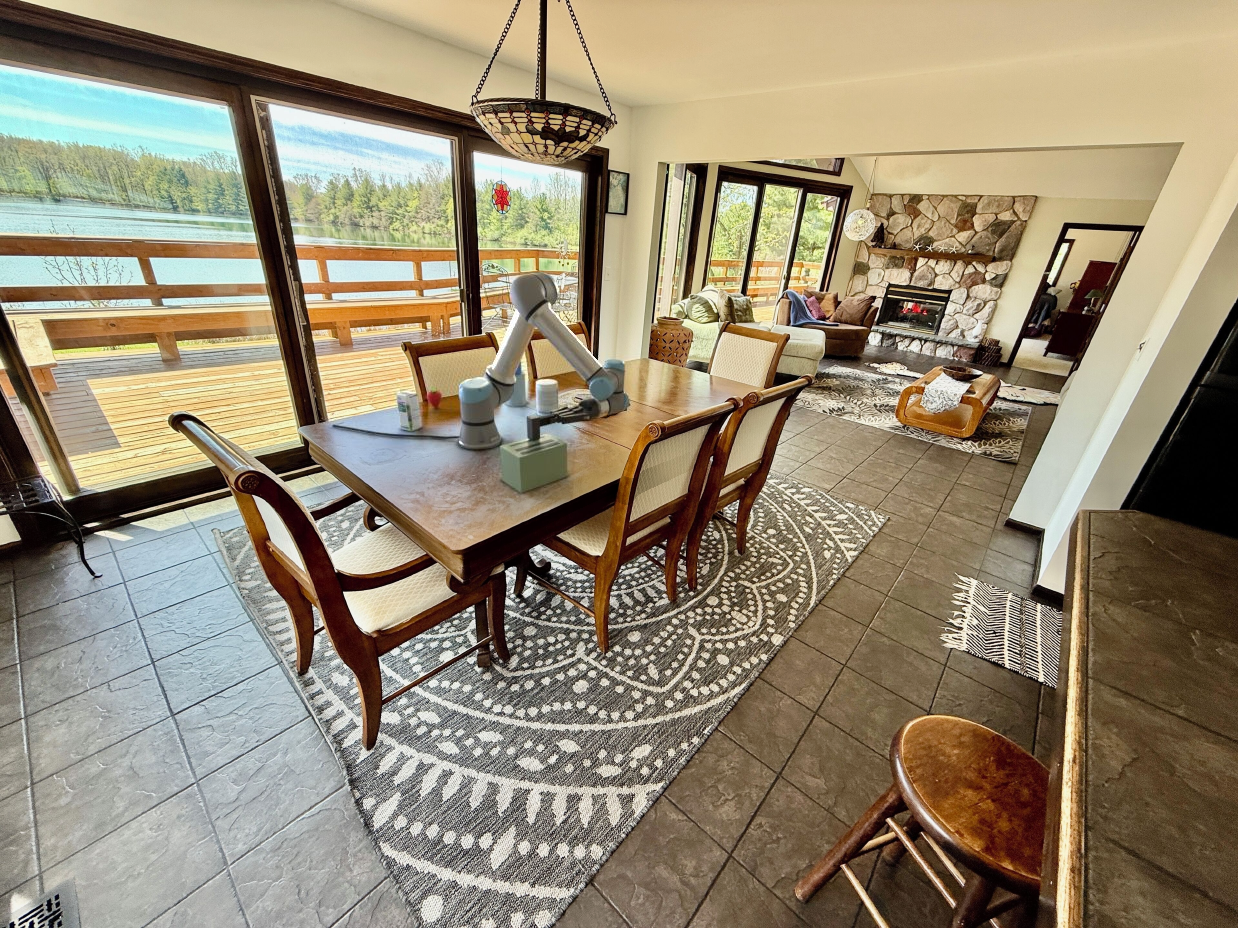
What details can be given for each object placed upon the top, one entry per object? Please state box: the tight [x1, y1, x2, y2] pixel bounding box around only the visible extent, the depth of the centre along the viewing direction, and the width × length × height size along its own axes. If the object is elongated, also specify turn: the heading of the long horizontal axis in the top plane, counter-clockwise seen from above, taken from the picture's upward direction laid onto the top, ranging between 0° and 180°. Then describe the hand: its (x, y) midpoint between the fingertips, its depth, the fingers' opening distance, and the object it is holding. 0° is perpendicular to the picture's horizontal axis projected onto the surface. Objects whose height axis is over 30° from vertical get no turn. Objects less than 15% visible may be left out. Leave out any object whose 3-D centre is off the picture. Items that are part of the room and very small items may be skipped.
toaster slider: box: [526, 414, 541, 441], centre depth 154 cm, size 3×3×8 cm
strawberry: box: [426, 387, 443, 409], centre depth 211 cm, size 6×8×10 cm
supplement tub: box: [535, 378, 559, 417], centre depth 209 cm, size 10×10×15 cm
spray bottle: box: [506, 360, 527, 407], centre depth 218 cm, size 9×9×25 cm
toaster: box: [499, 432, 568, 494], centre depth 154 cm, size 18×11×12 cm, turn 134°
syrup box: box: [395, 390, 422, 432], centre depth 187 cm, size 6×6×14 cm
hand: (538, 422), depth 154 cm, fingers closed
